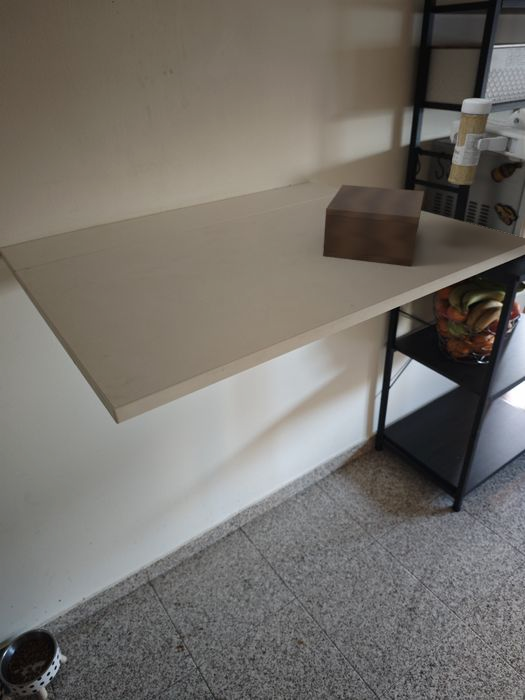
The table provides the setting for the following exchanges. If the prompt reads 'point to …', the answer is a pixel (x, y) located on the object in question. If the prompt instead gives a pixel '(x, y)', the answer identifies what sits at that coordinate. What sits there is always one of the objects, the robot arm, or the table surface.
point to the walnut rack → (373, 224)
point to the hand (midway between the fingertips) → (465, 141)
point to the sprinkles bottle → (469, 140)
